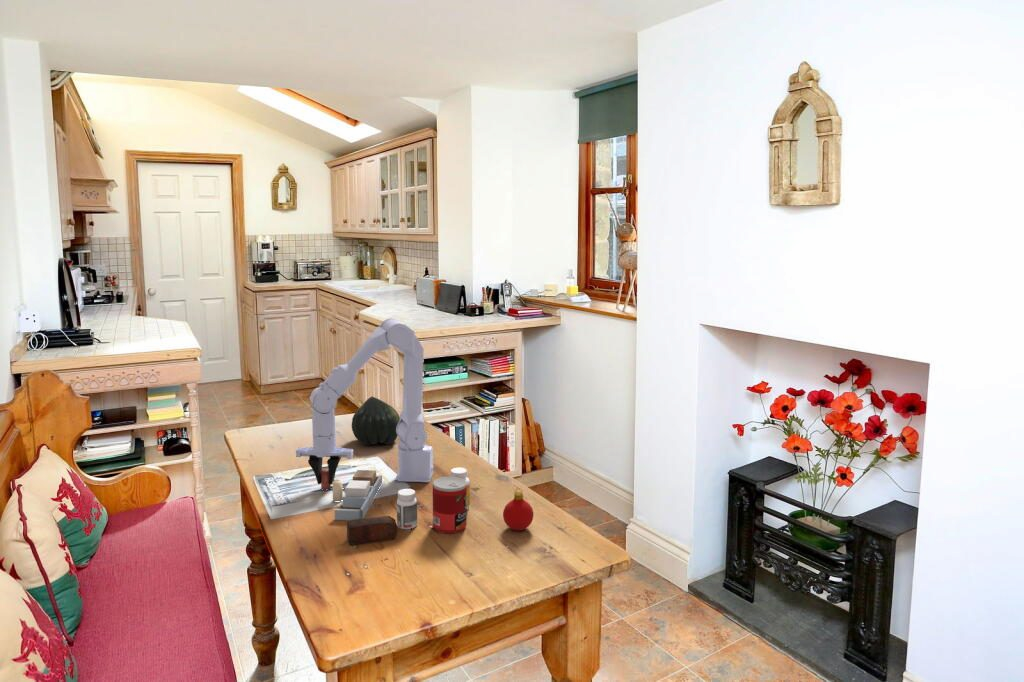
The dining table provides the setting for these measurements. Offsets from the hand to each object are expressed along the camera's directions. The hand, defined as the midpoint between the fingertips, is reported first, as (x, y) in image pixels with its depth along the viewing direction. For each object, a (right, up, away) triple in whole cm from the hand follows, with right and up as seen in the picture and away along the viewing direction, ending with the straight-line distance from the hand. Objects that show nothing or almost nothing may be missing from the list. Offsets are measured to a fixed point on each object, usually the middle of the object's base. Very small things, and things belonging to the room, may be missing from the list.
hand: (325, 482), depth 188 cm
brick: (+17, -8, -27) cm, 33 cm away
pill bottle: (+24, -6, -20) cm, 32 cm away
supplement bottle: (+36, -4, -10) cm, 37 cm away
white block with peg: (+8, -3, -7) cm, 11 cm away
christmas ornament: (+50, -7, -21) cm, 55 cm away
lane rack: (+10, -3, -7) cm, 13 cm away
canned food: (+34, -6, -20) cm, 40 cm away
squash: (+6, +5, +37) cm, 38 cm away
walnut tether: (+6, -2, 0) cm, 6 cm away
